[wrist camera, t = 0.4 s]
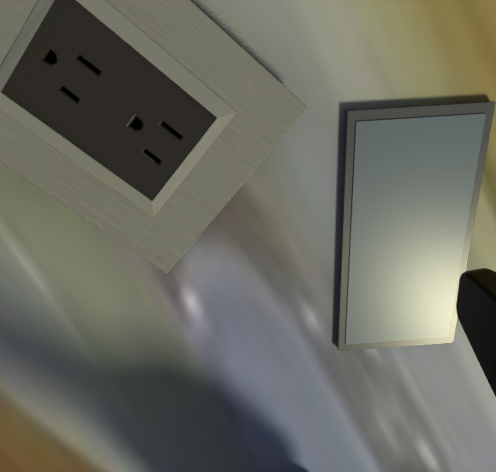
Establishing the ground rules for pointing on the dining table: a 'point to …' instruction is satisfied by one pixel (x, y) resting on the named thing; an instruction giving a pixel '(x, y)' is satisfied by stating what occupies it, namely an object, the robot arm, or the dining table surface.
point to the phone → (407, 220)
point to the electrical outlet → (135, 114)
